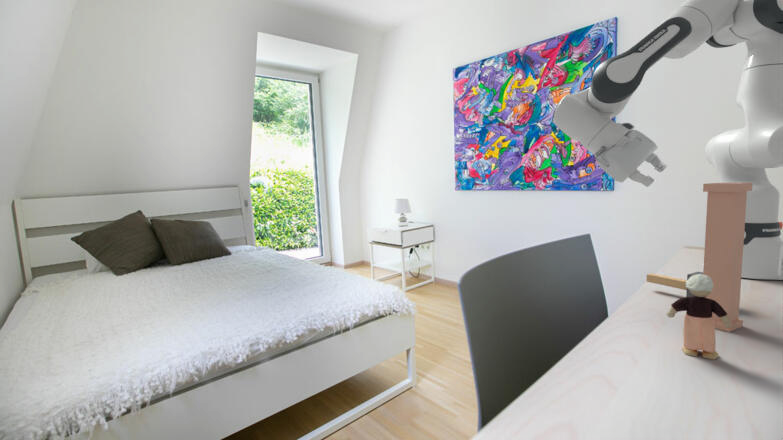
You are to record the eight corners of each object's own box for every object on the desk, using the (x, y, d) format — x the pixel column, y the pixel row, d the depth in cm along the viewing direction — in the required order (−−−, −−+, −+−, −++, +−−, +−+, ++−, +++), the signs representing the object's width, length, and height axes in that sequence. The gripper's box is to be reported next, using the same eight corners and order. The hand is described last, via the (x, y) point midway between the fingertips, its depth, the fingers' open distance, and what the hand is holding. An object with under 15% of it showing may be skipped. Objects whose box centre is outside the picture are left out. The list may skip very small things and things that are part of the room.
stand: (709, 317, 73) (717, 182, 70) (742, 326, 68) (752, 182, 65) (695, 322, 70) (703, 183, 68) (729, 332, 66) (738, 183, 63)
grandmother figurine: (722, 351, 59) (727, 273, 58) (731, 363, 56) (737, 279, 54) (663, 344, 62) (666, 269, 61) (668, 354, 59) (672, 275, 58)
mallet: (653, 287, 92) (654, 264, 92) (720, 303, 80) (722, 275, 80) (642, 290, 90) (643, 266, 90) (710, 307, 78) (711, 278, 78)
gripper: (600, 145, 87) (653, 183, 82) (632, 120, 98) (680, 153, 94) (583, 165, 92) (632, 202, 87) (615, 139, 103) (661, 170, 98)
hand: (657, 176), depth 90 cm, fingers open, 8 cm apart
